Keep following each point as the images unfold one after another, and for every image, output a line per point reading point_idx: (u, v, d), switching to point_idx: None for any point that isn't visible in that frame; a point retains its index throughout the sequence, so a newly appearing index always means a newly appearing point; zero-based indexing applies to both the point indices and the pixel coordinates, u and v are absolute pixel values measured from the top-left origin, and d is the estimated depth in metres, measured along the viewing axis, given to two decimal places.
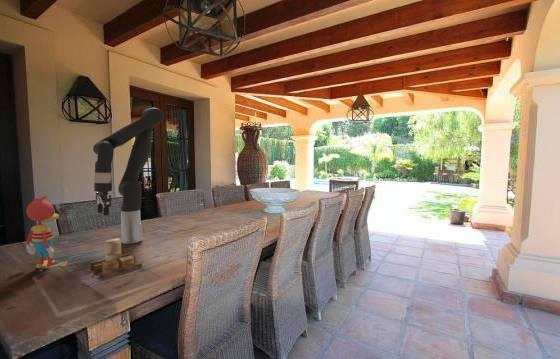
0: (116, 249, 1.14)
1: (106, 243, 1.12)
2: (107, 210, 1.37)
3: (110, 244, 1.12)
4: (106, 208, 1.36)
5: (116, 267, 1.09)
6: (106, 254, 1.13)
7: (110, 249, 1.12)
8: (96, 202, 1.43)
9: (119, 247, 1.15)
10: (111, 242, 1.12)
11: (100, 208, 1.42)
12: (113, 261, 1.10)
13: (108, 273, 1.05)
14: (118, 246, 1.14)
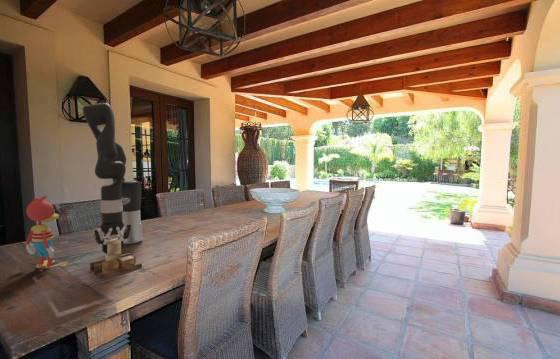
0: (116, 249, 1.14)
1: None
2: None
3: (110, 244, 1.12)
4: None
5: (116, 267, 1.09)
6: (106, 254, 1.13)
7: (110, 249, 1.12)
8: (101, 241, 1.10)
9: (119, 247, 1.15)
10: (111, 242, 1.12)
11: None
12: (113, 261, 1.10)
13: (108, 273, 1.05)
14: (118, 246, 1.14)
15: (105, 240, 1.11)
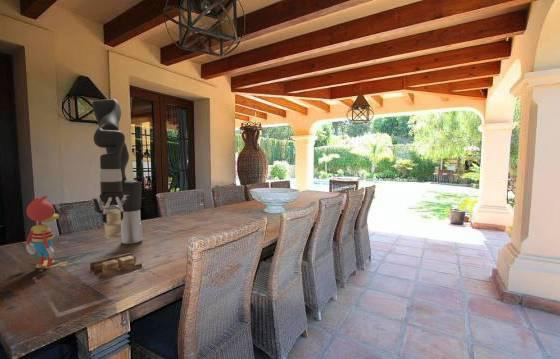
0: (115, 220, 1.13)
1: None
2: None
3: (109, 214, 1.11)
4: None
5: (116, 267, 1.09)
6: (105, 224, 1.12)
7: (109, 218, 1.11)
8: (100, 211, 1.09)
9: (119, 217, 1.14)
10: (110, 212, 1.11)
11: None
12: (113, 261, 1.10)
13: (108, 273, 1.05)
14: (118, 216, 1.14)
15: (104, 209, 1.10)
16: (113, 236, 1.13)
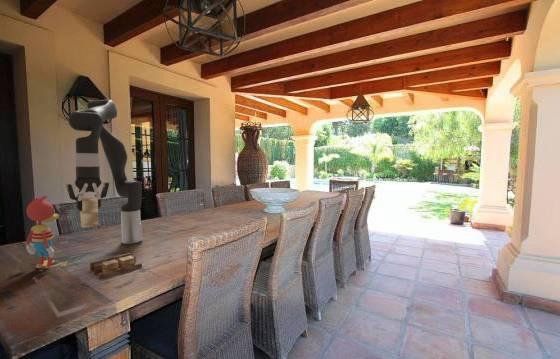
0: (92, 208, 1.06)
1: (81, 200, 1.04)
2: None
3: (85, 201, 1.05)
4: None
5: (116, 267, 1.09)
6: (81, 212, 1.05)
7: (85, 206, 1.05)
8: (75, 197, 1.02)
9: (96, 205, 1.07)
10: (87, 199, 1.05)
11: None
12: (113, 261, 1.10)
13: (108, 273, 1.05)
14: (94, 204, 1.07)
15: (80, 196, 1.03)
16: (89, 225, 1.06)
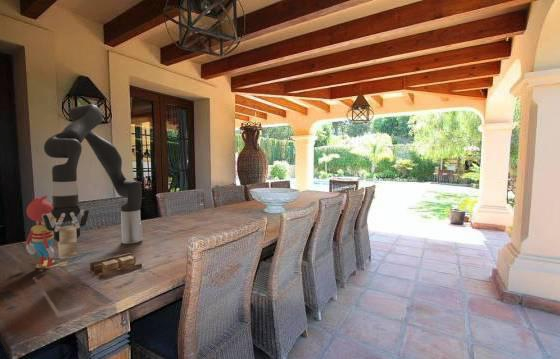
0: (70, 237, 1.02)
1: None
2: None
3: (63, 231, 1.00)
4: None
5: (116, 267, 1.09)
6: (58, 242, 1.01)
7: (62, 236, 1.00)
8: (52, 228, 0.98)
9: (74, 235, 1.03)
10: (64, 229, 1.00)
11: None
12: (113, 261, 1.10)
13: (108, 273, 1.05)
14: (73, 234, 1.02)
15: (57, 227, 0.99)
16: (67, 256, 1.01)
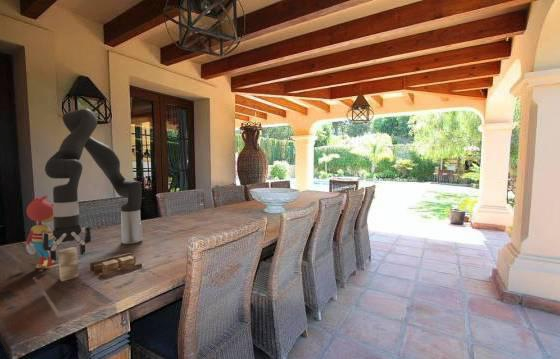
0: (71, 260, 1.02)
1: (59, 253, 1.00)
2: None
3: (64, 254, 1.01)
4: None
5: (116, 267, 1.09)
6: (60, 265, 1.01)
7: (63, 259, 1.01)
8: (48, 247, 0.97)
9: (75, 257, 1.03)
10: (65, 252, 1.01)
11: None
12: (113, 261, 1.10)
13: (108, 273, 1.05)
14: (74, 256, 1.03)
15: (54, 246, 0.99)
16: (68, 278, 1.02)
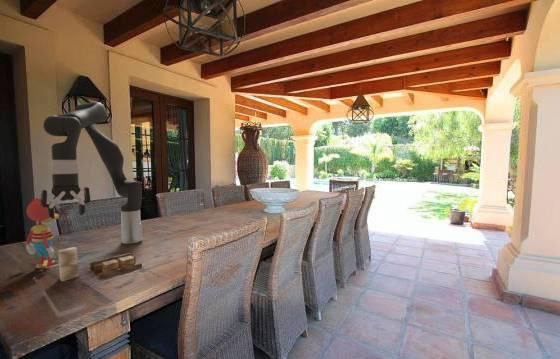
0: (71, 260, 1.02)
1: (59, 253, 1.00)
2: None
3: (64, 254, 1.01)
4: None
5: (116, 267, 1.09)
6: (60, 265, 1.01)
7: (63, 259, 1.01)
8: (46, 204, 0.96)
9: (75, 257, 1.03)
10: (65, 252, 1.01)
11: (53, 211, 0.99)
12: (113, 261, 1.10)
13: (108, 273, 1.05)
14: (74, 256, 1.03)
15: (52, 203, 0.98)
16: (68, 278, 1.02)
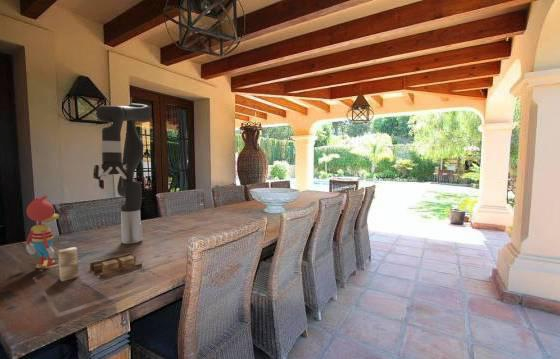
0: (71, 260, 1.02)
1: (59, 253, 1.00)
2: None
3: (64, 254, 1.01)
4: None
5: (116, 267, 1.09)
6: (60, 265, 1.01)
7: (63, 259, 1.01)
8: (98, 177, 1.19)
9: (75, 257, 1.03)
10: (65, 252, 1.01)
11: None
12: (113, 261, 1.10)
13: (108, 273, 1.05)
14: (74, 256, 1.03)
15: (102, 176, 1.20)
16: (68, 278, 1.02)
